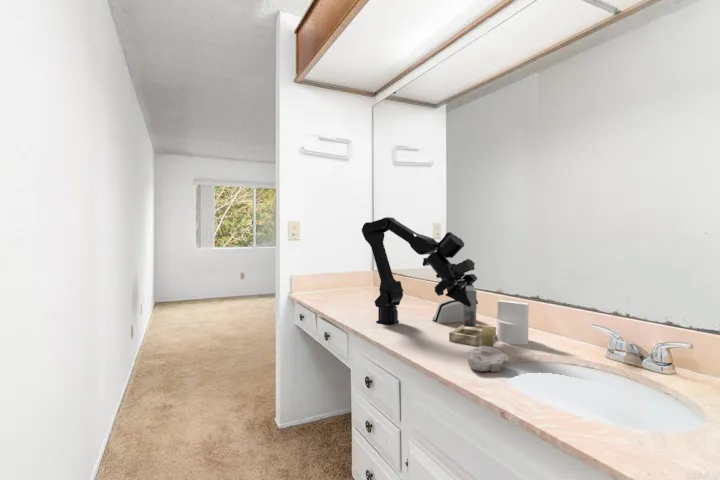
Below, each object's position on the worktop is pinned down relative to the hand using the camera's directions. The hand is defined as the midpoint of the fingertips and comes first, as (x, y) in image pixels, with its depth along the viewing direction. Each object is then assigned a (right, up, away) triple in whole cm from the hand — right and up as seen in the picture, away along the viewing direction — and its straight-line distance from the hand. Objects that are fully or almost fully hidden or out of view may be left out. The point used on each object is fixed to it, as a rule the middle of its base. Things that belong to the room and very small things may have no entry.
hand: (473, 305), depth 113 cm
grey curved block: (+1, -11, +26) cm, 28 cm away
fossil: (-4, -12, -23) cm, 26 cm away
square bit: (0, -11, -11) cm, 16 cm away
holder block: (+1, -11, +4) cm, 12 cm away
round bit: (-1, -7, +1) cm, 7 cm away
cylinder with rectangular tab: (+13, -11, +1) cm, 17 cm away
